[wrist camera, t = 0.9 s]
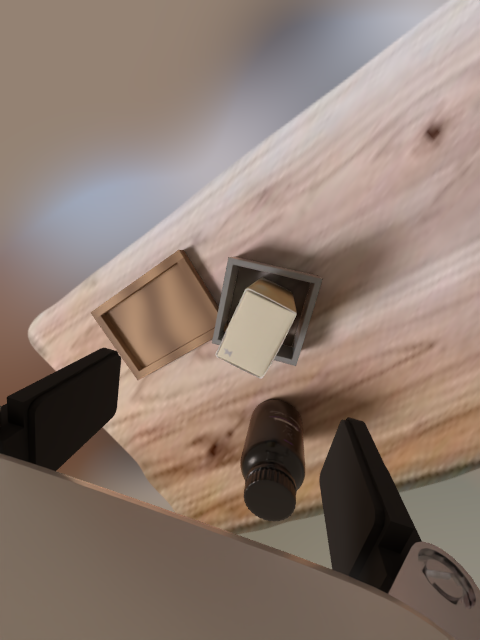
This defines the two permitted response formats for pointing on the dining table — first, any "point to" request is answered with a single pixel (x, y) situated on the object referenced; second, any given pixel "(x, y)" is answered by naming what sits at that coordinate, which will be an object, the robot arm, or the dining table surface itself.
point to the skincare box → (258, 327)
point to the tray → (159, 316)
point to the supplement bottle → (273, 460)
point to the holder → (285, 352)
